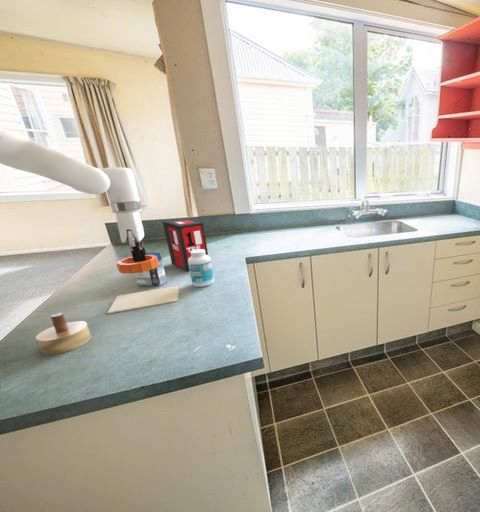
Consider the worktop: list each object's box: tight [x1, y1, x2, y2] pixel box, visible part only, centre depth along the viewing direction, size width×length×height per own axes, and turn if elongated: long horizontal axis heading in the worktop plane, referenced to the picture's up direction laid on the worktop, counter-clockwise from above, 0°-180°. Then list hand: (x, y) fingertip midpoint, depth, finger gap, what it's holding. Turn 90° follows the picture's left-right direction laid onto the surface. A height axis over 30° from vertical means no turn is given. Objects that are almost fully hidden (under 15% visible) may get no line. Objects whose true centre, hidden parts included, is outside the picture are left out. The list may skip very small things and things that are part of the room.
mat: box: [106, 285, 180, 315], centre depth 102 cm, size 18×14×1 cm
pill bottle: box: [188, 249, 215, 288], centre depth 113 cm, size 8×7×14 cm
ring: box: [116, 255, 159, 275], centre depth 98 cm, size 10×10×3 cm
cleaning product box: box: [162, 217, 209, 272], centre depth 132 cm, size 16×9×20 cm, turn 56°
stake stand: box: [35, 312, 92, 356], centre depth 76 cm, size 9×9×8 cm
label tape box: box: [134, 251, 168, 286], centre depth 112 cm, size 9×4×12 cm, turn 90°
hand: (140, 259), depth 102 cm, fingers closed on ring, 1 cm apart
